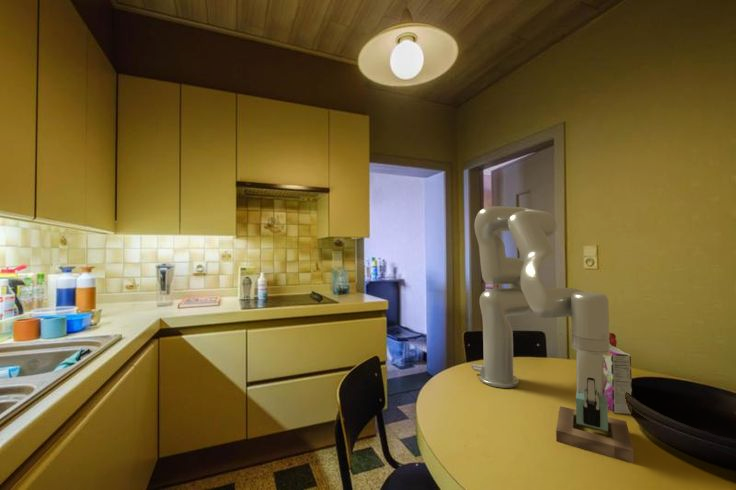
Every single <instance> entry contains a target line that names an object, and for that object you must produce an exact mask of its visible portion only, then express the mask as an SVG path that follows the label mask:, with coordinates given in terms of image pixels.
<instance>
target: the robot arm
mask: <svg viewBox="0 0 736 490" xmlns="http://www.w3.org/2000/svg"><path fill="white" fill-rule="evenodd" d="M473 225H474V233H475V237H476V240H477V244H478V249H479V261H480V271H481V277H482V279H483V282H484V283H486V284H488V285H495V286H496V285H507V286H508V287H506V288H505V287H503V288H502V287H501V288H500V287H499V288H489V289H486V290H485V291H483V292H482V293H481V294H480V296H479V306H480V313H481V319H482V341H483V343H482V344H483V346H482V347H483V349H482V350H483V353H482V354H483V364H482V363H481V364H478V363H471V369H473V371H474V372H479V374H478V379H479V380H480V382H482V384H483V383H484V384H485V385H488V386H489V387H490V386H491V387H495V388H502V389H511V388H515V387H517V386H518V385H519V382H520V381H519V378H518V377H517V376H516V375H515V374H514V336H513V335H514V331H513V327H512V326H511V323H510V321H509V320H508V317H512V316H521V315H522V316H524V315H526V314H528V313H529V311H530V310H532V312H533V313H534V314H535V315H536V316H538V317H541V318H544V319H548V318H549V319H551V318H566V317H567V318H570V321H571V323H570V324H571V325H570V326H571V327H570V330H571V349H574V350H575V351H576V359H575V361H576V362H575V364H576V367H575V369H576V389H577V392H578V393H583V392H584V406H583V422H584V424H587V425H591V426H595V427H600V409H599V399H598V398H600V397H602V390H603V354H608V353H610V348H609V333H610V314H609V312H610V309H609V307H610V305H609V298H608V296H607V295H606V294H604V293H600V292H595V291H584V290H581V289H578V288H573V287H554V288H553V287H550V288H547V287H546V285H545V284H544V281H543V279H542V277H541V273H540V268H541V266H542V265H543V264H545V263H547V262H548V261H551V259H552V258H553V257H554V256H555V249H554V246H553V245H552V243H551V242H550V239H549V238H551V237H552V236H553V235H555V233H556V231H557V226H558V225H557V221H556V219H555V217H554V216H553V215H552V214H551V213H550V212H547V211H543V210H539V209H538V210H537V209H533V208H532V209H531V208H527V207H520V206H503V205H502V206H497V205H495V206H494V205H493V206H486V207H484V208H481V209H480V210H479V211H478V212H477V214H476V217H475V219H474V223H473ZM497 232H510V235H511V237H512V239H513V241H514V243H515V246H516V248H517V249H518V253H519V254H520V256H521V258H522V259H521V258H518V257H511V256H510V257H508V256H507V254H506V246H505V242H504V241H503V239H502V237H501V236H500V235H499V234H498V233H497ZM586 391H588V393H586ZM595 393H596V395H595ZM587 396H588V399H587ZM595 398H596V400H595Z"/></svg>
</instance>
